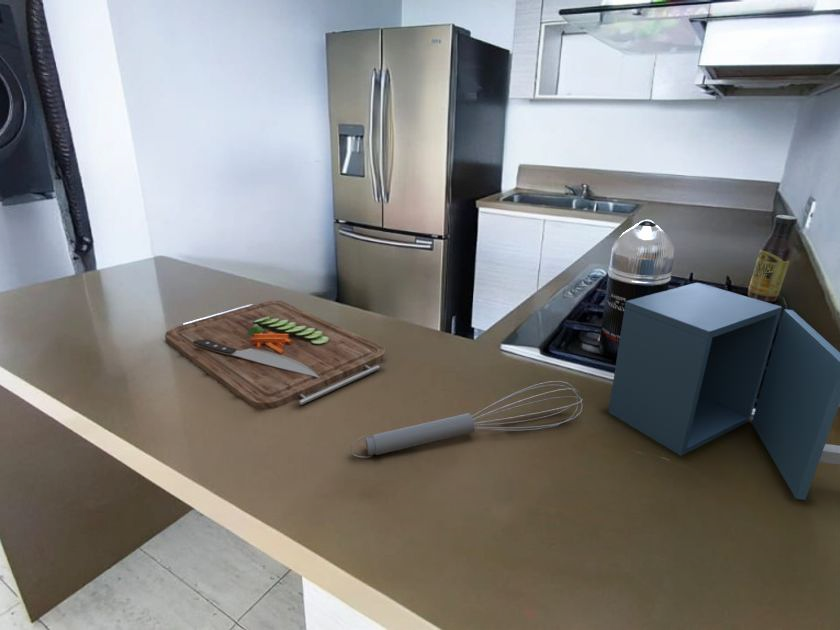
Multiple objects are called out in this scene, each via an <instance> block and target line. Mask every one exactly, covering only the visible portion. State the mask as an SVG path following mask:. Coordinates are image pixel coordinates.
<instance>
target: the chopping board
mask: <svg viewBox="0 0 840 630" xmlns="http://www.w3.org/2000/svg"><path fill="white" fill-rule="evenodd" d="M164 338H165V341H166V344H168V345H169V346H170V347H171V348H173V349H174V350H176V351H177V352H178V353H180V354H181V355H182V356H183V357H185V358H186V359H188V360H189V361H190V362H191V363H193V364H195V366H197V367H198V368H200V369H201V370H202V371H204V372H205V373H206V374H208V375H209V376H210V377H211V378H212V379H214V380H215V381H217V382H218V383H219V384H221V385H222V386H223V387H224V388H226V389H227V390H228V391H230V392H231V393H233V394H235V395H236V396H237V397H239V398H240V399H241V400H242V401H244V402H245V403H246V404H248V405H249V406H251V407H252V408H255V409H256V410H257V409H258V410H272V409H276V408H280V407H282V406H285V405H287V404H289V403H292V402H294V401H296V400H298V399H299V400H298V404H299V406H303V405H305V404H307V403H310V402H311V401H313V400H316V399H318V398H321V397H322V396H325V395H327V394H329V393H331V392H333V391H336V390H338V389H340V388H342V387H344V386H346V385H348V384H351V383H353V382H355V381H358V380H359V379H361V378H364V377H365V376H368V375H371V374H373V373H375V372H377V371H379V370H380V369H381V368H380V365H378V363H380V362H382V361H384V360H385V359H386V348H385V347H384V346H383V345H381V344H379V343H377V342H375V341H373V340H371V339H368V338H365V337H364V336H361V335H359V334H357V333H355V332H352V331H350V330H348V329H346V328H344V327H341V326H339V325H337V324H335V323H332V322H330V321H328V320H326V319H323V318H321V317H319V316H317V315H314V314H313V313H310V312H308V311H306V310H304V309H302V308H299V307H297V306H295V305H292V304H290V303H288V302H286V301H283V300H269V301H264V302H260V303H257V304H253V303H249V304H246V305H242V306H238V307H235V308H231V309H228V310H223V311H220V312H217V313H213V314H210V315H205V316H203V317H200V318H196V319H192V320H189V321H185V322H182V323H181V325H180V326H177V327H173V328H170V329H169V330H167V331H166V332H165V335H164ZM372 366H373V367H372ZM365 369H366V370H365ZM358 372H360V373H358ZM356 373H357V374H356ZM354 374H355V375H354ZM352 375H353V376H352ZM350 376H351V377H350ZM343 379H344V380H343ZM341 380H342V381H341ZM336 382H337V383H336ZM327 386H328V387H327ZM325 387H326V388H325ZM323 388H324V389H323ZM316 391H317V392H316ZM314 392H315V393H314ZM311 393H313V394H311ZM309 394H311V395H309ZM307 395H308V396H307ZM300 398H301V399H300Z"/></svg>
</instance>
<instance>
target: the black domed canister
mask: <svg viewBox="0 0 840 630" xmlns="http://www.w3.org/2000/svg"><path fill="white" fill-rule="evenodd" d="M674 247H675V246H674V244H673V242H672V240H671V239H670V237H669V236H668V235H667V234H666V232H665V231H664V230H663V229H661V228H660V227H659V226H658V225H657V224H656V223H655V222H654V221H652V220H650V219H645V220H641V221H640V222H639V223H636V224H635V225H634V226H632V227H630V228H629V229H627V230H625V231H624V232H623V233H622V234H621V235H620V236H619V237H618V238H616V240H615V242H614V243H613V245H612V248H611V254H610V260H609V261H610V262H609V266H608V270H607V275H608V277H607V283H606V291H605V298H604V304H603V305H604V306H603V312H602V319H601V327H600V333H599V341H598V347H599V349H600V351H601V352H602V353H603V354H604V355H605V356H606V357H608V358H610V359H613V360H614V361H616V360H617V354H618V348H619V341H620V335H621V329H622V322H623V316H624V310H625V303H626V301H629V300H632V299H636V298H640V297H644V296H648V295H651V294H655V293H659V292H663V291H667V290H669V286H670V284H669V283H670V282H671V281H672V272H673V267H674V262H675V261H674V260H675V253H676V252H675V248H674ZM601 329H602V330H601Z"/></svg>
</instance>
